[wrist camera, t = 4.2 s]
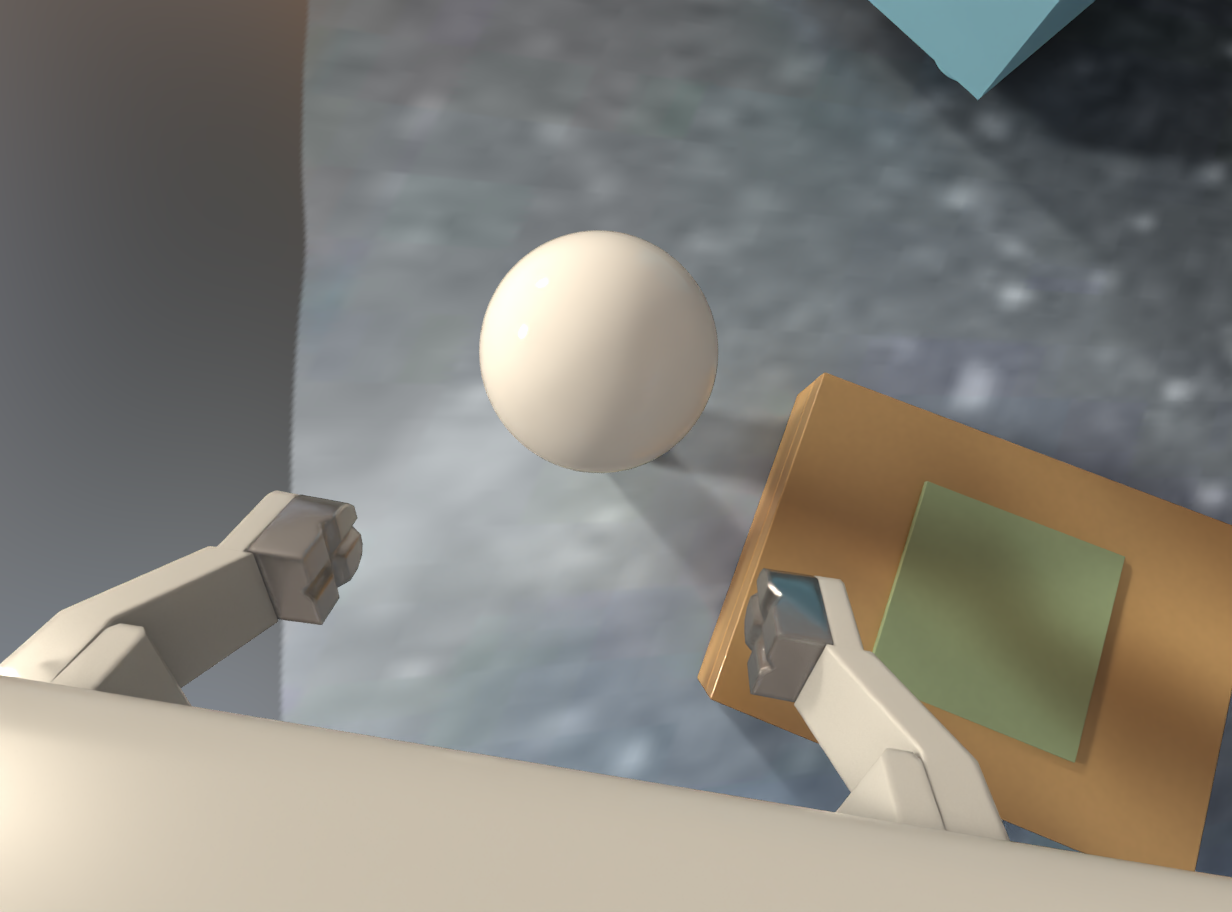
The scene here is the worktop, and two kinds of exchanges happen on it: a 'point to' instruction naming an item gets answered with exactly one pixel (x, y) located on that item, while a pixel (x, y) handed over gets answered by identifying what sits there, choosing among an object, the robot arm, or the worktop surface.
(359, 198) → the worktop surface
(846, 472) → the shelf
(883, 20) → the worktop surface
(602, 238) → the lightbulb
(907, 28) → the teakettle
